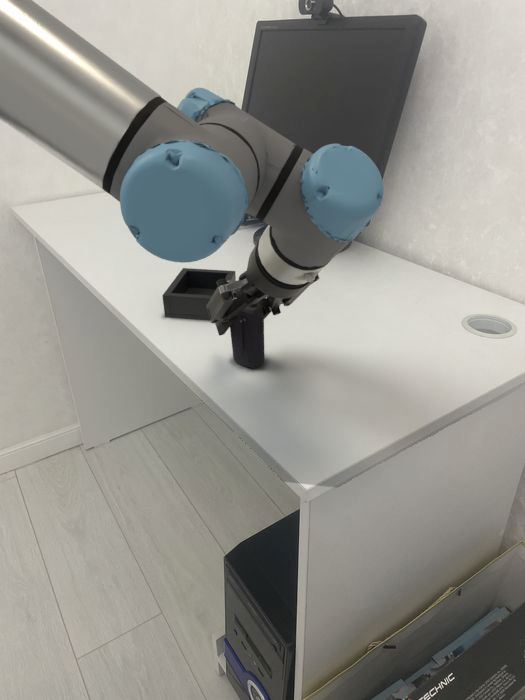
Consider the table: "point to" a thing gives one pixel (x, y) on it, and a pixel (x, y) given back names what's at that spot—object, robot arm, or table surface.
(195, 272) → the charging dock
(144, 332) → the table surface
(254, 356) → the two-way radio
